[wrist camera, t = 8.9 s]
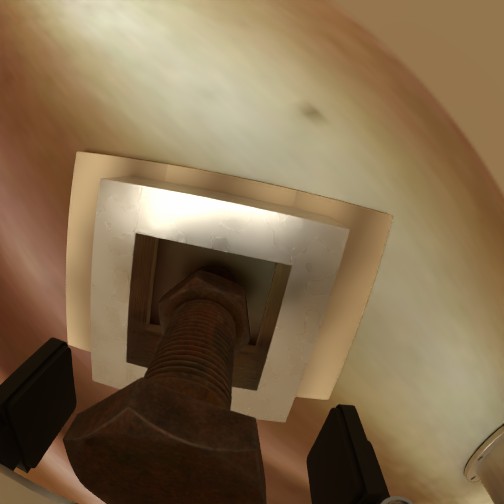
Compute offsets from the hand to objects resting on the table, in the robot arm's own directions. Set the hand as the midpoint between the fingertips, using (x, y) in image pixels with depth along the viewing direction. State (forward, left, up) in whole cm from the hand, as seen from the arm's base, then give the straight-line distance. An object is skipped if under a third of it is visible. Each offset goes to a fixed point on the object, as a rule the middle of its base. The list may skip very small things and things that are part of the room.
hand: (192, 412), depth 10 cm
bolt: (0, 0, -11) cm, 11 cm away
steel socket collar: (+1, 0, -11) cm, 11 cm away
